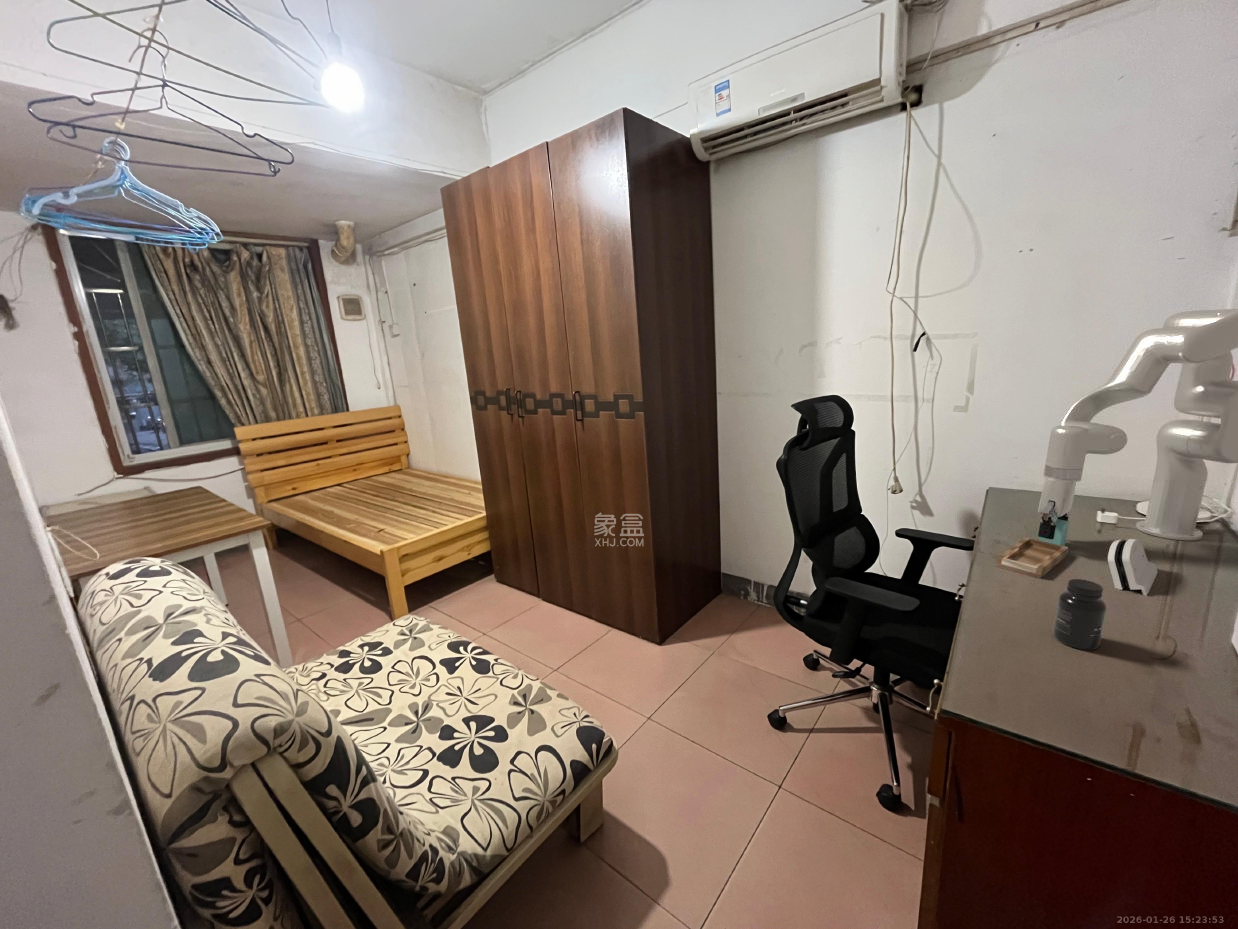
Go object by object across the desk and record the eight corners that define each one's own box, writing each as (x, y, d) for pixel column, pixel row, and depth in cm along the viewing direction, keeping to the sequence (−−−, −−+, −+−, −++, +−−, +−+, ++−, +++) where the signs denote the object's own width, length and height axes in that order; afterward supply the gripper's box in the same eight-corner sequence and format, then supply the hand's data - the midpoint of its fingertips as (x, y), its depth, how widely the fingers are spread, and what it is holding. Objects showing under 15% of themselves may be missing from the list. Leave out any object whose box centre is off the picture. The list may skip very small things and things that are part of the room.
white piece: (1146, 596, 110) (1132, 552, 110) (1117, 595, 114) (1104, 553, 114) (1158, 571, 120) (1145, 531, 120) (1130, 571, 124) (1118, 532, 124)
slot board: (1024, 545, 138) (1025, 537, 137) (1066, 555, 130) (1068, 547, 130) (996, 566, 127) (997, 557, 127) (1040, 578, 120) (1041, 569, 119)
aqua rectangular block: (1044, 540, 140) (1048, 517, 138) (1065, 545, 136) (1069, 521, 134) (1038, 545, 137) (1042, 521, 136) (1059, 550, 134) (1063, 525, 132)
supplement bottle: (1103, 655, 92) (1115, 596, 90) (1055, 645, 96) (1065, 588, 93) (1094, 635, 98) (1105, 580, 95) (1049, 627, 102) (1058, 573, 99)
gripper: (1056, 464, 139) (1046, 522, 143) (1033, 476, 130) (1023, 537, 134) (1091, 469, 133) (1080, 529, 137) (1070, 482, 124) (1058, 546, 128)
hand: (1052, 533), depth 136 cm, fingers open, 9 cm apart
